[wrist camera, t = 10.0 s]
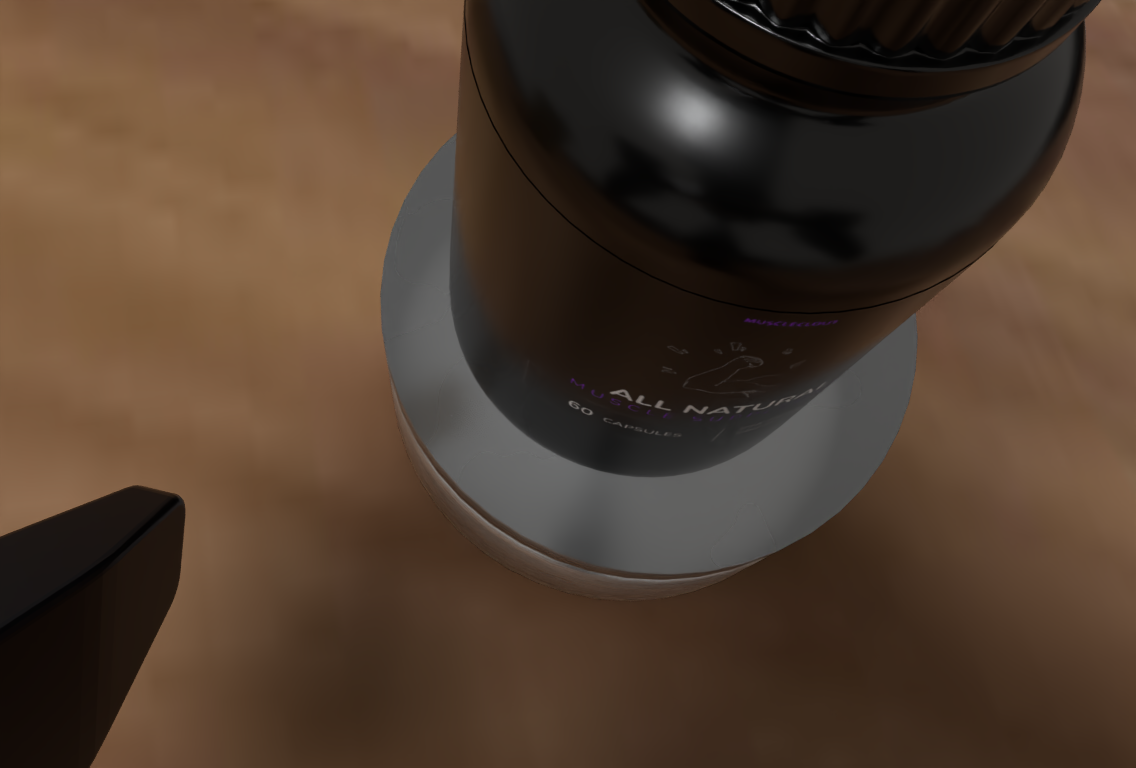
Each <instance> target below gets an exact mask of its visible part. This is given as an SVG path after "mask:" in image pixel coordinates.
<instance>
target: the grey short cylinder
mask: <svg viewBox="0 0 1136 768" xmlns="http://www.w3.org/2000/svg"><path fill="white" fill-rule="evenodd" d="M456 134H457V133H456ZM456 134H455V135H454V136H453V137H452V138H451V139H449V140H448V141H447V142H446V143H445V144H444V145H443V146H442V147H441V148H440V149H439V151H438V152H437V153H436V154H435V156H434V157H433V158H432V159H431V160H430V162H429V163H428V164H427V165H426V167H425V168H424V169H423V170H422V172H421V173H420V175H419V176H418V178H417V180H416V182H415V183H414V185H413V187H412V188H411V190H410V192H409V193H408V195H407V197H406V198H405V200H404V202H403V205H402V207H401V210H400V212H399V215H398V217H397V219H396V222H395V224H394V227H393V229H392V232H391V236H390V240H389V244H388V248H387V252H386V256H385V260H384V267H383V276H382V286H381V320H382V333H383V339H384V346H385V352H386V358H387V364H388V371H389V377H390V383H391V389H392V396H393V401H394V407H395V412H396V418H397V423H398V428H399V431H400V434H401V437H402V440H403V443H404V446H405V449H406V452H407V455H408V457H409V459H410V461H411V463H412V465H413V467H414V469H415V471H416V473H417V475H418V477H419V479H420V482H421V483H422V485H423V486H424V488H425V489H426V491H427V492H428V494H429V495H430V497H431V498H432V500H433V501H434V503H435V504H436V506H437V507H438V508H439V510H440V511H441V512H442V513H443V514H444V515H445V516H446V517H447V519H448V520H449V521H450V522H451V523H452V524H453V525H454V527H455V528H456V529H457V530H458V531H459V532H460V533H461V534H462V535H464V536H465V537H466V538H467V539H468V540H469V541H470V542H472V543H473V544H474V545H475V546H476V547H477V548H479V549H480V550H481V551H482V552H483V553H485V554H486V555H488V556H489V557H491V558H492V559H494V560H495V561H497V562H499V563H500V564H502V565H503V566H505V567H506V568H508V569H509V570H511V571H513V572H515V573H517V574H519V575H521V576H524V577H526V578H528V579H530V580H532V581H534V582H536V583H538V584H541V585H544V586H547V587H550V588H553V589H556V590H559V591H562V592H565V593H568V594H573V595H578V596H584V597H589V598H594V599H600V600H618V601H640V600H652V599H663V598H668V597H672V596H677V595H681V594H686V593H690V592H694V591H696V590H699V589H702V588H704V587H707V586H710V585H713V584H715V583H718V582H721V581H723V580H724V579H726V578H728V577H730V576H732V575H734V574H736V573H738V572H739V571H741V570H743V569H745V568H747V567H749V566H751V565H753V564H755V563H756V562H758V561H760V560H762V559H764V558H766V557H768V556H770V555H771V554H773V553H775V552H777V551H779V550H781V549H783V548H785V547H786V546H788V545H790V544H792V543H794V542H796V541H797V540H799V539H801V538H803V537H805V536H807V535H808V534H810V533H812V532H813V531H814V530H816V529H817V528H818V527H820V526H821V525H823V524H824V523H825V522H827V521H828V520H829V519H831V518H832V517H833V516H835V515H836V514H837V513H839V512H840V511H841V510H842V509H843V508H844V507H845V506H846V505H847V504H848V503H849V502H850V501H851V500H852V499H853V498H854V497H855V496H856V495H857V493H858V492H859V491H860V490H861V489H862V488H863V487H864V486H865V484H866V483H867V482H868V480H869V479H870V478H871V476H872V475H873V474H874V472H875V471H876V470H877V468H878V467H879V466H880V464H881V463H882V461H883V460H884V458H885V456H886V454H887V452H888V450H889V448H890V446H891V445H892V443H893V441H894V439H895V437H896V435H897V433H898V431H899V428H900V425H901V423H902V420H903V417H904V414H905V411H906V409H907V406H908V403H909V399H910V394H911V389H912V385H913V380H914V375H915V370H916V353H917V325H916V312H915V313H914V314H913V315H912V316H911V317H910V318H908V319H907V320H906V321H905V322H904V323H902V324H901V325H900V326H899V327H898V328H897V329H895V330H894V331H893V332H892V333H891V334H889V335H888V336H887V337H886V338H885V339H884V340H882V341H881V342H880V343H879V344H878V345H876V346H875V347H874V348H873V349H872V350H870V351H869V352H868V353H867V354H866V355H865V356H863V357H862V358H861V359H860V360H859V361H857V362H856V363H855V364H854V365H853V366H852V367H850V368H849V369H848V370H847V371H846V372H844V373H843V374H842V375H841V376H840V377H839V378H837V379H836V380H835V381H834V382H833V383H831V384H830V385H829V386H828V387H827V388H826V389H824V390H823V391H822V392H821V393H820V394H818V395H817V396H816V397H815V398H814V399H813V400H811V401H810V402H809V403H808V404H807V405H805V406H804V407H803V408H802V409H801V410H800V411H798V412H797V413H796V414H795V415H794V416H792V417H791V418H790V419H789V420H788V421H786V422H785V423H784V424H783V425H782V426H781V427H779V428H778V429H776V430H775V431H774V432H773V433H771V434H770V435H769V436H767V437H766V438H765V439H764V440H762V441H761V442H759V443H758V444H756V445H755V446H753V447H752V448H750V449H749V450H747V451H745V452H743V453H741V454H740V455H738V456H736V457H734V458H732V459H730V460H728V461H726V462H723V463H721V464H718V465H716V466H713V467H711V468H708V469H704V470H700V471H697V472H693V473H688V474H683V475H677V476H668V477H632V476H623V475H616V474H611V473H607V472H602V471H597V470H594V469H591V468H588V467H585V466H582V465H579V464H576V463H574V462H572V461H569V460H567V459H565V458H562V457H560V456H558V455H557V454H555V453H553V452H551V451H549V450H547V449H546V448H544V447H542V446H541V445H539V444H538V443H536V442H535V441H533V440H532V439H530V438H529V437H527V436H526V435H525V434H524V433H523V432H521V431H520V430H519V429H518V428H516V427H515V426H514V425H513V424H512V423H511V422H510V421H509V420H508V419H507V418H506V417H505V416H504V415H503V414H502V413H501V412H500V411H499V410H498V409H497V408H496V407H495V405H494V404H493V403H492V402H491V401H490V399H489V398H488V397H487V396H486V394H485V393H484V391H483V390H482V388H481V387H480V385H479V384H478V382H477V381H476V379H475V377H474V376H473V374H472V372H471V370H470V368H469V366H468V364H467V362H466V360H465V357H464V355H463V352H462V350H461V348H460V345H459V341H458V338H457V335H456V331H455V327H454V322H453V316H452V311H451V303H450V291H449V277H450V241H451V223H452V205H453V187H454V170H455V152H456Z"/></svg>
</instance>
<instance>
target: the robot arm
mask: <svg viewBox="0 0 1136 768" xmlns="http://www.w3.org/2000/svg"><path fill="white" fill-rule="evenodd" d="M184 525H185V504H184V501H183V499H182V498H181V497H180V496H179V495H177V494H174V493H169V492H165V491H161V490H157V489H153V488H148V487H144V486H138V485H135V486H131V487H127V488H124V489H122V490H119V491H117V492H114V493H111V494H109V495H106V496H104V497H101V498H98V499H96V500H93V501H91V502H88V503H86V504H83V505H80V506H78V507H75V508H73V509H70V510H68V511H65V512H62V513H60V514H57V515H55V516H52V517H49V518H47V519H44V520H42V521H39V522H37V523H34V524H31V525H29V526H26V527H24V528H21V529H19V530H16V531H13V532H11V533H8V534H6V535H3V536H1V537H0V768H89V767H90V766H91V764H92V762H93V761H94V759H95V757H96V755H97V753H98V751H99V749H100V748H101V746H102V744H103V742H104V740H105V738H106V736H107V734H108V732H109V730H110V728H111V726H112V724H113V722H114V720H115V718H116V716H117V714H118V712H119V710H120V708H121V706H122V704H123V702H124V700H125V698H126V696H127V694H128V692H129V689H130V687H131V685H132V683H133V681H134V679H135V677H136V675H137V673H138V671H139V669H140V667H141V665H142V663H143V661H144V659H145V657H146V655H147V653H148V651H149V649H150V647H151V645H152V643H153V641H154V639H155V637H156V635H157V633H158V631H159V629H160V627H161V625H162V623H163V620H164V618H165V616H166V614H167V612H168V610H169V608H170V606H171V604H172V602H173V599H174V597H175V594H176V591H177V587H178V583H179V579H180V571H181V559H182V548H183V536H184Z"/></svg>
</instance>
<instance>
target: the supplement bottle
mask: <svg viewBox="0 0 1136 768" xmlns="http://www.w3.org/2000/svg"><path fill="white" fill-rule="evenodd" d="M1100 1H1101V0H464V11H463V29H462V46H461V63H460V81H459V99H458V117H457V134H456V152H455V170H454V187H453V205H452V223H451V241H450V277H449V291H450V303H451V311H452V316H453V322H454V327H455V331H456V335H457V338H458V341H459V345H460V348H461V350H462V352H463V355H464V357H465V360H466V362H467V364H468V366H469V368H470V370H471V372H472V374H473V376H474V377H475V379H476V381H477V382H478V384H479V385H480V387H481V388H482V390H483V391H484V393H485V394H486V396H487V397H488V398H489V399H490V401H491V402H492V403H493V404H494V405H495V407H496V408H497V409H498V410H499V411H500V412H501V413H502V414H503V415H504V416H505V417H506V418H507V419H508V420H509V421H510V422H511V423H512V424H513V425H514V426H515V427H516V428H518V429H519V430H520V431H521V432H523V433H524V434H525V435H526V436H527V437H529V438H530V439H532V440H533V441H535V442H536V443H538V444H539V445H541V446H542V447H544V448H546V449H547V450H549V451H551V452H553V453H555V454H557V455H558V456H560V457H562V458H565V459H567V460H569V461H572V462H574V463H576V464H579V465H582V466H585V467H588V468H591V469H594V470H597V471H602V472H607V473H611V474H616V475H623V476H632V477H668V476H677V475H683V474H688V473H693V472H697V471H700V470H704V469H708V468H711V467H713V466H716V465H718V464H721V463H723V462H726V461H728V460H730V459H732V458H734V457H736V456H738V455H740V454H741V453H743V452H745V451H747V450H749V449H750V448H752V447H753V446H755V445H756V444H758V443H759V442H761V441H762V440H764V439H765V438H766V437H767V436H769V435H770V434H771V433H773V432H774V431H775V430H776V429H778V428H779V427H781V426H782V425H783V424H784V423H785V422H786V421H788V420H789V419H790V418H791V417H792V416H794V415H795V414H796V413H797V412H798V411H800V410H801V409H802V408H803V407H804V406H805V405H807V404H808V403H809V402H810V401H811V400H813V399H814V398H815V397H816V396H817V395H818V394H820V393H821V392H822V391H823V390H824V389H826V388H827V387H828V386H829V385H830V384H831V383H833V382H834V381H835V380H836V379H837V378H839V377H840V376H841V375H842V374H843V373H844V372H846V371H847V370H848V369H849V368H850V367H852V366H853V365H854V364H855V363H856V362H857V361H859V360H860V359H861V358H862V357H863V356H865V355H866V354H867V353H868V352H869V351H870V350H872V349H873V348H874V347H875V346H876V345H878V344H879V343H880V342H881V341H882V340H884V339H885V338H886V337H887V336H888V335H889V334H891V333H892V332H893V331H894V330H895V329H897V328H898V327H899V326H900V325H901V324H902V323H904V322H905V321H906V320H907V319H908V318H910V317H911V316H912V315H913V314H914V313H915V312H917V311H918V310H919V309H920V308H921V307H923V306H924V305H925V304H926V303H927V302H928V301H930V300H931V299H932V298H933V297H934V296H936V295H937V294H938V293H939V292H940V291H941V290H943V289H944V288H945V287H946V286H947V285H949V284H950V283H951V282H952V281H953V280H954V279H956V278H957V277H958V276H959V275H960V274H962V273H963V272H964V271H965V270H966V269H967V268H969V267H970V266H971V265H972V264H973V263H974V262H976V261H977V260H978V259H979V258H980V257H982V256H983V255H984V254H985V253H986V252H987V251H988V250H990V249H991V248H992V247H993V246H994V245H995V244H996V243H997V242H998V241H999V240H1000V239H1001V238H1002V237H1003V236H1004V235H1005V234H1006V233H1007V232H1008V231H1009V230H1010V229H1011V228H1012V227H1013V226H1014V224H1015V223H1016V222H1017V221H1018V220H1019V219H1020V218H1021V217H1022V216H1023V215H1024V214H1025V213H1026V212H1027V211H1028V209H1029V208H1030V207H1031V206H1032V205H1033V203H1034V202H1035V200H1036V199H1037V198H1038V196H1039V195H1040V193H1041V192H1042V191H1043V189H1044V188H1045V186H1046V185H1047V183H1048V181H1049V180H1050V178H1051V176H1052V174H1053V172H1054V170H1055V169H1056V167H1057V165H1058V163H1059V161H1060V159H1061V158H1062V155H1063V153H1064V150H1065V148H1066V145H1067V143H1068V140H1069V137H1070V135H1071V132H1072V129H1073V126H1074V122H1075V118H1076V114H1077V111H1078V107H1079V103H1080V98H1081V93H1082V86H1083V78H1084V71H1085V60H1086V30H1085V18H1086V17H1087V16H1088V15H1089V14H1090V13H1091V12H1092V11H1093V10H1094V8H1095V7H1096V6H1097V5H1098V4H1099V3H1100Z"/></svg>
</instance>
